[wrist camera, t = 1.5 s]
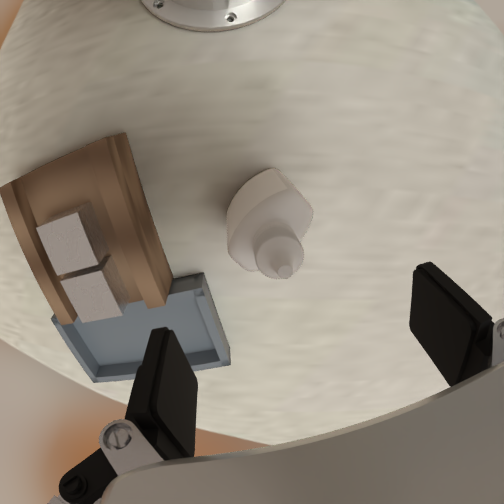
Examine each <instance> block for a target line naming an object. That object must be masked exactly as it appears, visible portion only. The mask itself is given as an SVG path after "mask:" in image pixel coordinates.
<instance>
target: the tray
mask: <svg viewBox="0 0 504 504" xmlns="http://www.w3.org/2000/svg"><path fill="white" fill-rule="evenodd" d="M51 320H52V322H53V323H54V325H55V327H56V328H57V330H58V332H59V333H60V335H61V336H62V338H63V340H64V341H65V343H66V344H67V346H68V347H69V349H70V350H71V352H72V353H73V355H74V356H75V358H76V359H77V361H78V362H79V363H80V365H81V366H82V368H83V369H84V371H85V372H86V373H87V375H88V376H89V377H90V379H91V380H92V381H93V383H98V382H110V381H122V380H132V379H135V376H136V372H137V369H138V367H139V366H140V365H142V362H143V358H144V354H145V351H146V347H147V344H148V340H149V337H150V333H151V330H152V329H156V328H161V327H167V328H168V329H169V330H171V329H172V330H173V331H174V332H175V334H176V337H177V339H178V341H179V343H180V345H181V347H182V349H183V352H184V354H185V356H186V358H187V360H188V362H189V364H190V366H191V368H192V370H193V371H199V370H205V369H211V368H217V367H222V366H228V365H231V359H230V346H229V344H228V341H227V338H226V336H225V333H224V330H223V327H222V324H221V322H220V319H219V316H218V313H217V310H216V307H215V305H214V302H213V299H212V296H211V293H210V290H209V287H208V284H207V281H206V278H205V275H204V273H199V274H195V275H191V276H186V277H182V278H178V279H173V280H172V282H171V286H170V290H169V294H168V297H167V301H166V305H165V306H161V307H156V308H151V309H148V308H147V306H146V304H145V302H144V300H142V301H137V302H132V303H128V305H127V307H126V309H125V312H124V314H123V316H117V317H112V318H107V319H101V320H96V321H90V322H85V323H82V321H81V320H80V318H79V316H77V318H76V320H75V322H74V323H72V324H66V325H61V324H60V322H59V320H58V319H57V317H56V315H55V313H54V315H53V316H52V318H51Z"/></svg>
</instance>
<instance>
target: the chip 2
mask: <svg viewBox="0 0 504 504" xmlns="http://www.w3.org/2000/svg"><path fill="white" fill-rule="evenodd" d="M60 282H61V284H62V286H63V288H64V290H65V292H66V294H67V296H68V298H69V300H70V301H71V303H72V305H73V307H74V309H75V311H76V312H77V314H78V316H79V318H80V320H81V321H82V323H85V322H90V321H96V320H101V319H107V318H112V317H117V316H123V314H124V312H125V309H126V307H127V305H128V302H129V300H130V298H131V297H130V295H129V293H128V291H127V289H126V287H125V284H124V282H123V280H122V278H121V276H120V273H119V271H118V269H117V266H116V264H115V262H114V259H113V257H112V255H110V256H106V257H103V259H102V260H101V262H100V263H99V264H98V265H94V266H91V267H87V268H83V269H80V270H76V271H72V272H69V273H66V274H65V276H64V277H63V278H62V279H61V281H60Z"/></svg>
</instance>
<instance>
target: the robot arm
mask: <svg viewBox="0 0 504 504" xmlns="http://www.w3.org/2000/svg"><path fill="white" fill-rule="evenodd" d="M141 1H142V2H143V4H144V5H145V6H146V7H147V8H148V10H149V11H150V12H151V13H153V14H154V15H155V16H157V17H158V18H159V19H161V20H163V21H165V22H167V23H169V24H171V25H173V26H177V27H180V28H184V29H188V30H195V31H204V32H206V31H225V30H231V29H237V28H240V27H243V26H247V25H250V24H253V23H255V22H257V21H259V20H261V19H263V18H265V17H267V16H268V15H270V14H271V13H273V12H274V11H275V10H277V9H278V8H279V7H280V6H281V5H282V4H283V3H284V2H285V1H286V0H141ZM160 5H164V6H163V7H162V8H159V9H158V6H160ZM228 18H232V19H233V20H234V21H233V22H228V21H227V19H228ZM491 320H492V317H491V316H490V315H489V314H488V313H487V312H486V311H485V310H484V309H483V308H482V307H481V306H480V305H479V304H478V303H477V302H476V301H475V300H473V299H472V298H471V297H470V296H469V295H468V294H467V293H466V292H465V291H464V290H463V289H462V288H461V287H459V286H458V285H457V284H456V283H455V282H454V281H453V280H452V279H450V278H449V277H448V276H447V275H446V274H445V273H444V272H443V271H441V270H440V269H439V268H438V267H437V266H436V265H434V264H433V263H432V262H426V263H423V264H420V265H418V266H417V267H416V270H414V272H413V284H412V299H411V311H410V321H409V326H410V330H411V332H412V333H413V334H414V336H415V337H416V339H417V340H418V341H419V343H420V344H421V345H422V347H423V348H424V350H425V351H426V352H427V354H428V355H429V357H430V358H431V359H432V361H433V362H434V364H435V365H436V367H437V368H438V370H439V371H440V372H441V374H442V375H443V377H444V378H445V380H446V381H447V383H448V384H449V386H451V387H450V388H448V389H445V390H443V391H441V392H439V393H437V394H435V395H432V396H430V397H428V398H425V399H423V400H421V401H418V402H416V403H414V404H411V405H409V406H406V407H404V408H401V409H398V410H396V411H393V412H390V413H388V414H385V415H382V416H379V417H376V418H374V419H371V420H368V421H365V422H362V423H358V424H355V425H352V426H349V427H346V428H342V429H339V430H335V431H332V432H328V433H324V434H321V435H317V436H313V437H309V438H305V439H300V440H296V441H292V442H287V443H282V444H277V445H272V446H267V447H262V448H256V449H250V450H243V451H237V452H230V453H223V454H216V455H208V456H198V457H194V451H195V429H196V409H197V391H198V382H197V378H196V376H195V374H194V372H193V370H192V368H191V366H190V364H189V362H188V360H187V358H186V356H185V354H184V352H183V349H182V347H181V345H180V343H179V341H178V339H177V337H176V334H175V332H174V331H173V330H172V329H171V330H169V329H168V328H167V327H161V328H156V329H152V330H151V333H150V337H149V340H148V344H147V347H146V351H145V354H144V358H143V362H142V365H140V366H139V367H138V369H137V372H136V376H135V380H134V383H133V387H132V391H131V395H130V399H129V403H128V407H127V411H126V415H125V419H119V420H115V421H113V422H111V423H109V424H108V425H107V426H105V427H104V429H103V430H102V431H101V433H100V436H99V444H100V447H101V448H99V449H98V450H97V451H95V452H94V453H93V454H92V455H90V456H89V457H87V458H86V459H85V460H83V461H82V462H81V463H79V464H78V465H76V466H75V467H74V468H72V469H71V470H69V471H68V472H67V473H66V474H65V475H64V476H63V477H62V478H61V480H60V483H59V492H60V495H59V496H58V497H56V496H54V497H53V498H52V499H51V500H50V502H49V503H48V504H504V318H503V319H500V320H498V321H497V322H496V323H495V324H494V323H493V322H492V321H491Z"/></svg>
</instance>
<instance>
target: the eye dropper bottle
mask: <svg viewBox="0 0 504 504" xmlns="http://www.w3.org/2000/svg"><path fill="white" fill-rule="evenodd" d="M312 218H313V209H312V207H311V205H310V204H309V202H308V201H307V200H306V199H305V198H304V196H303V195H302V194H301V193H300V192H299V191H298V190H297V189H296V187H295V186H294V185H293V184H292V183H291V182H290V181H289V180H288V179H287V178H286V177H285V176H284V175H283V174H282V173H281V172H280V171H279V170H277V169H276V168H271V169H268V170H265V171H263V172H261V173H259V174H257V175H255V176H254V177H252V178H251V179H250V180H248V181H247V182H246V183H245V184H244V185H243V186H242V187H241V188H240V189H239V190H238V192H237V193H236V194H235V196H234V198H233V199H232V201H231V203H230V205H229V208H228V210H227V245H228V253H229V255H230V256H231V258H232V259H233V260H234V261H235V262H236V263H238V264H239V265H240V266H241V267H242V268H244V269H245V270H247V271H259V270H260V271H261V273H263V274H264V275H265V276H267V277H269V278H273V279H287V278H289V277H291V275H293V274H295V272H297V271H298V269H299V268H300V267H301V265H302V263H303V260H304V259H303V258H304V250H303V247H302V245H301V243H300V242H301V240H302V239H303V237H304V236H305V234H306V232H307V230H308V228H309V226H310V224H311V221H312Z"/></svg>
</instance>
